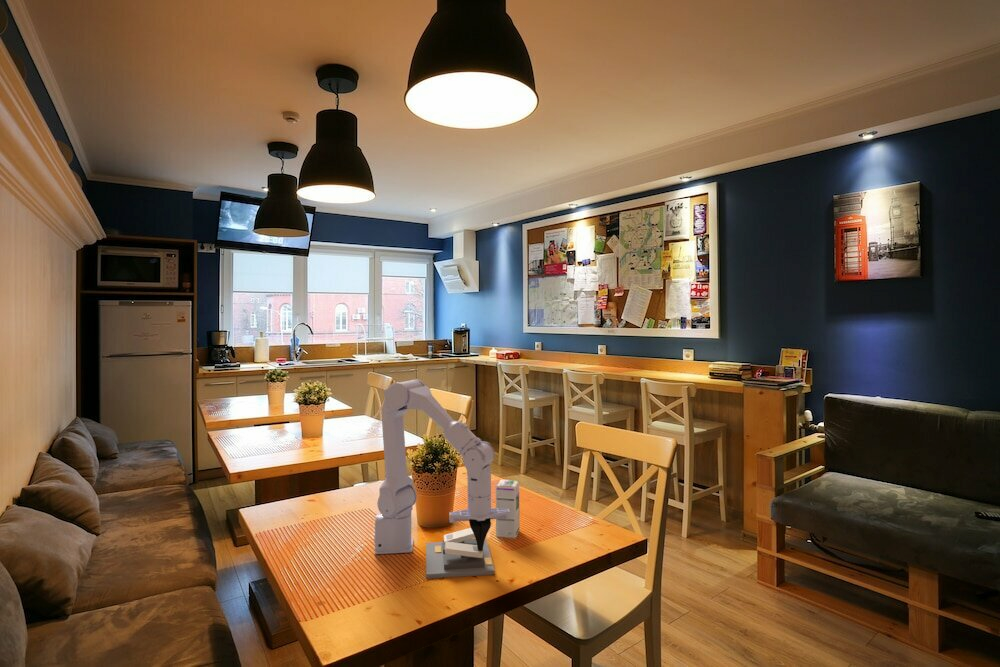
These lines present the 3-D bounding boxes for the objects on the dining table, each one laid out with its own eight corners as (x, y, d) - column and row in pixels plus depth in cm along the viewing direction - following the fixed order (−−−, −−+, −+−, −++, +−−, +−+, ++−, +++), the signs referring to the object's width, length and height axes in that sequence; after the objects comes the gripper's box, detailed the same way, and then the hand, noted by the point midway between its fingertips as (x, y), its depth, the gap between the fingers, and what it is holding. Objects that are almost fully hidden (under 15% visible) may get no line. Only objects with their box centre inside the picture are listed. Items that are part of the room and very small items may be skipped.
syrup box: (516, 539, 144) (516, 486, 143) (495, 537, 145) (495, 484, 144) (519, 530, 149) (520, 480, 149) (499, 528, 150) (499, 478, 150)
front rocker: (445, 553, 125) (446, 548, 125) (444, 546, 128) (445, 541, 128) (482, 558, 126) (483, 552, 126) (480, 550, 130) (481, 545, 130)
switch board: (426, 578, 122) (426, 564, 121) (426, 546, 138) (426, 534, 138) (494, 574, 124) (494, 561, 124) (486, 543, 141) (486, 531, 140)
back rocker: (445, 546, 133) (444, 541, 132) (444, 539, 136) (443, 534, 136) (479, 536, 134) (478, 531, 134) (478, 530, 138) (477, 525, 138)
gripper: (450, 501, 122) (450, 558, 123) (511, 497, 124) (512, 554, 125) (448, 491, 129) (449, 545, 130) (507, 488, 131) (507, 541, 132)
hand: (479, 549), depth 128 cm, fingers closed, pressing on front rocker
